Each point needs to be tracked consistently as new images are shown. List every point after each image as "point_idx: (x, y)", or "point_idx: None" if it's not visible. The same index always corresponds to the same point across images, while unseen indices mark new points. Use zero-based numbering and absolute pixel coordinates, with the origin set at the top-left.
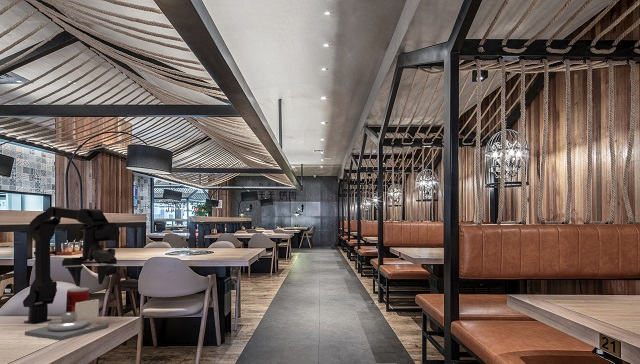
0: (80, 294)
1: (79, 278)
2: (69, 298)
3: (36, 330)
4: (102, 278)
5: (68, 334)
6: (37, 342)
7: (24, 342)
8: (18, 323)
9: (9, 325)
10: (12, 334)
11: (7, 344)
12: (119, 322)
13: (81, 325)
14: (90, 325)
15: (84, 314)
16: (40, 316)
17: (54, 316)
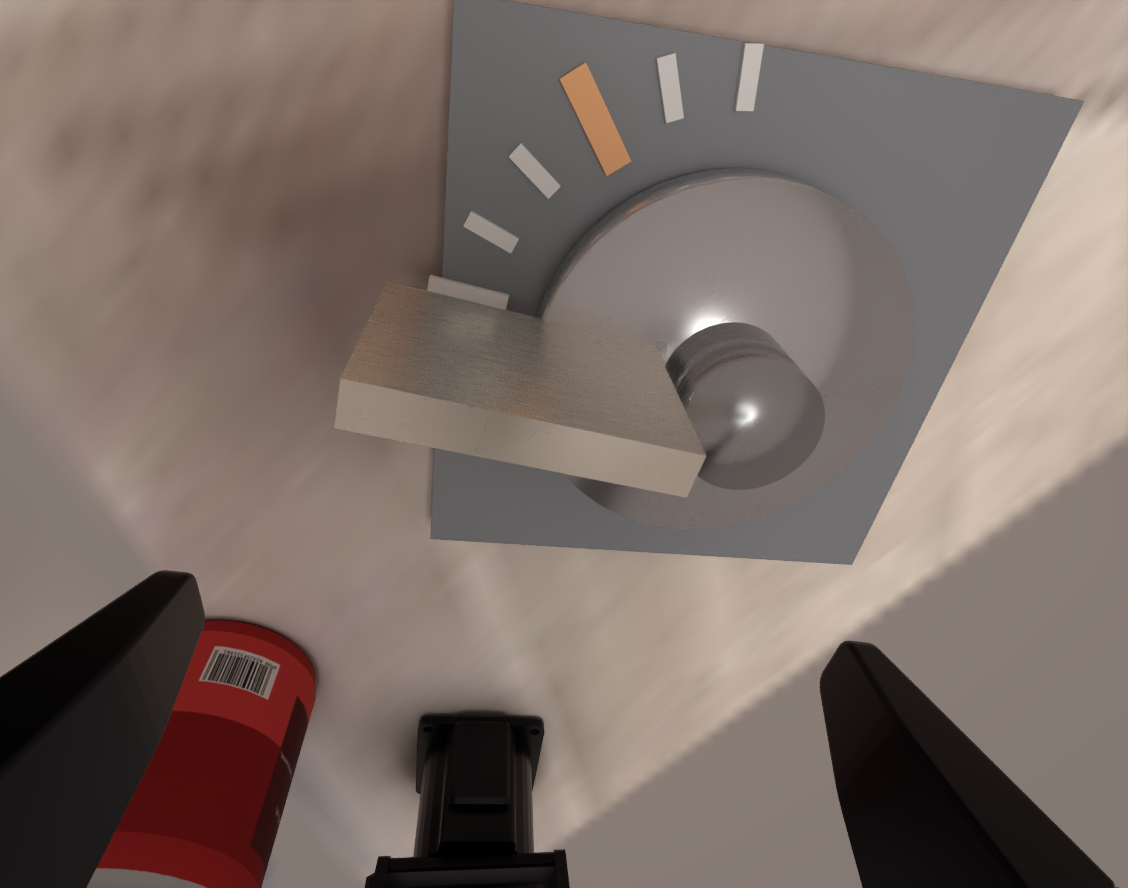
0: (170, 835)
1: (1016, 822)
2: (269, 840)
3: (820, 518)
4: (64, 698)
5: (1002, 94)
6: (1086, 274)
7: (1063, 377)
8: (549, 793)
9: (604, 792)
10: (817, 624)
11: (1100, 443)
12: (179, 74)
13: (757, 173)
14: (605, 171)
15: (571, 347)
16: (509, 757)
17: (312, 779)
